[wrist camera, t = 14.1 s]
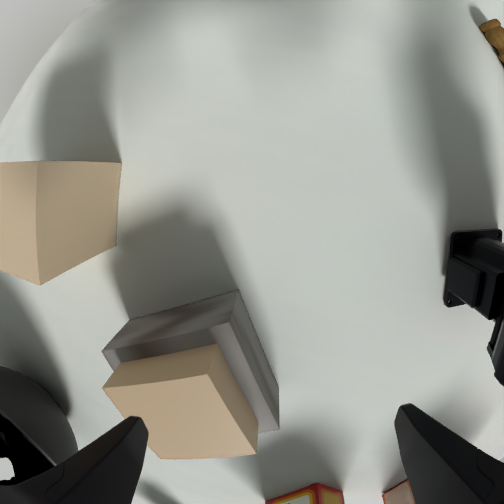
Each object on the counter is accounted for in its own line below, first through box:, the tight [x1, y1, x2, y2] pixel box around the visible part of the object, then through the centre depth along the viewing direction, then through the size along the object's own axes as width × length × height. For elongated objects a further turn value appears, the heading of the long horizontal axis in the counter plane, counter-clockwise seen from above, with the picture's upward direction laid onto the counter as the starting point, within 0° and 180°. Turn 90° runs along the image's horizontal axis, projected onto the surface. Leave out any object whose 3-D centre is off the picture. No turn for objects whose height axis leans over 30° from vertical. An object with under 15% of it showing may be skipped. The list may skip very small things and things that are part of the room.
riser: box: [102, 289, 279, 433], centre depth 20 cm, size 10×10×5 cm
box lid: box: [102, 344, 259, 459], centre depth 16 cm, size 8×8×3 cm
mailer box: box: [0, 161, 122, 285], centre depth 15 cm, size 6×6×9 cm
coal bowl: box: [0, 366, 78, 486], centre depth 18 cm, size 20×20×19 cm
